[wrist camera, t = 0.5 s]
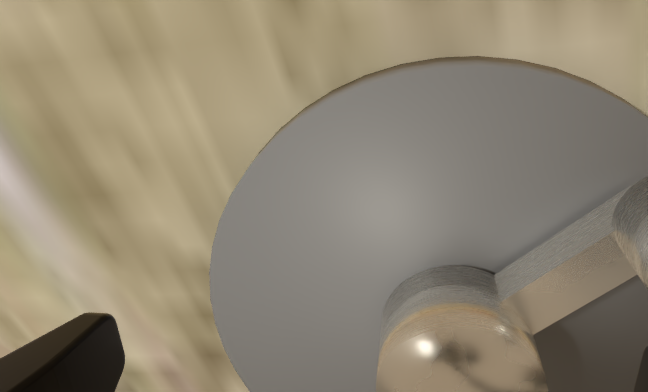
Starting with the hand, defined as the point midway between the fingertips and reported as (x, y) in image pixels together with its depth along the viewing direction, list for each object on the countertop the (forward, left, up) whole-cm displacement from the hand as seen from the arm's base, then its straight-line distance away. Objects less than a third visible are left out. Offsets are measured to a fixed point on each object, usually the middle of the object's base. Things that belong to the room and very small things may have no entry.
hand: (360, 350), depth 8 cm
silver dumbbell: (-7, 0, -9) cm, 12 cm away
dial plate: (-7, +3, -11) cm, 14 cm away
